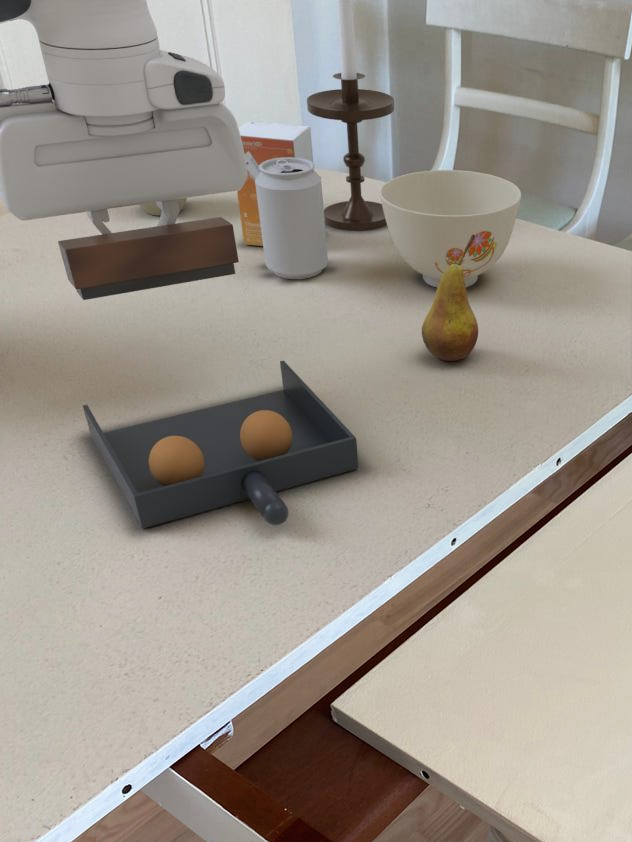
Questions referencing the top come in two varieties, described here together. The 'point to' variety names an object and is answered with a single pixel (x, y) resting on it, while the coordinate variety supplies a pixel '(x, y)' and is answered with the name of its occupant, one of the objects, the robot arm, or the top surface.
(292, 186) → the can
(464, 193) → the bowl
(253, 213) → the small box
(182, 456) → the ball left
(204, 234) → the brush
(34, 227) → the top surface
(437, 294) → the fruit
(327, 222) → the candlestick
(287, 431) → the ball right
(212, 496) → the dustpan
